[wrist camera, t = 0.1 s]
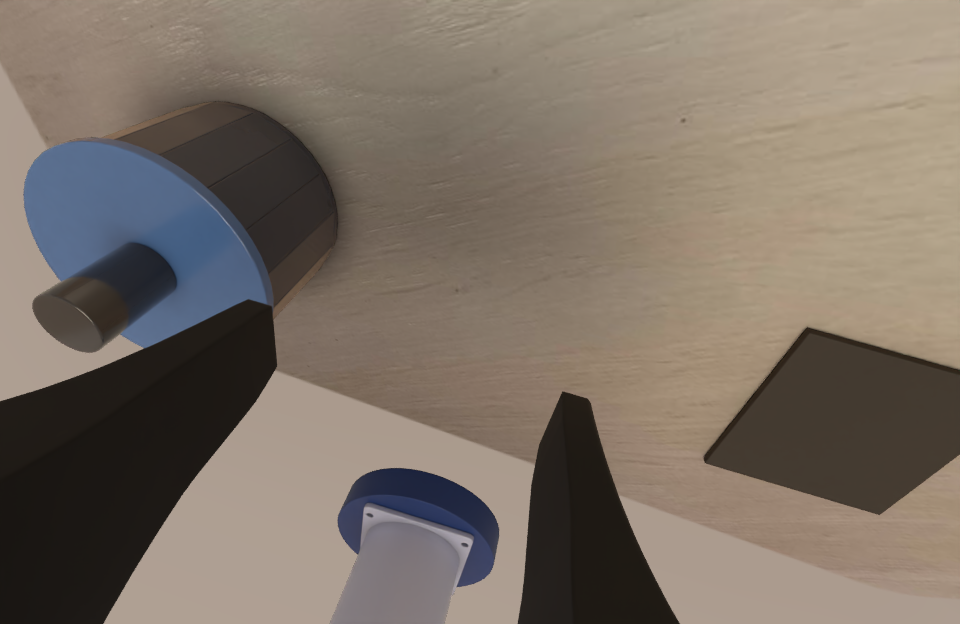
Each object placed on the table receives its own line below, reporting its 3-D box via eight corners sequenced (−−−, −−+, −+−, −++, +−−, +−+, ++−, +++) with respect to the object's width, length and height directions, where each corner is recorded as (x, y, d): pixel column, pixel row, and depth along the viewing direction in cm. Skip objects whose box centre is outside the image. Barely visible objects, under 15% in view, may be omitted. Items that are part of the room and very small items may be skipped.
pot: (336, 297, 27) (274, 376, 22) (181, 252, 28) (84, 319, 22) (339, 131, 21) (256, 186, 16) (144, 78, 22) (4, 115, 17)
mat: (876, 508, 28) (879, 515, 28) (703, 457, 28) (704, 463, 28) (1030, 390, 22) (1037, 396, 21) (806, 327, 22) (809, 332, 22)
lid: (288, 374, 23) (224, 456, 19) (91, 315, 23) (-8, 384, 19) (274, 173, 17) (178, 237, 13) (9, 99, 17) (-157, 140, 13)
